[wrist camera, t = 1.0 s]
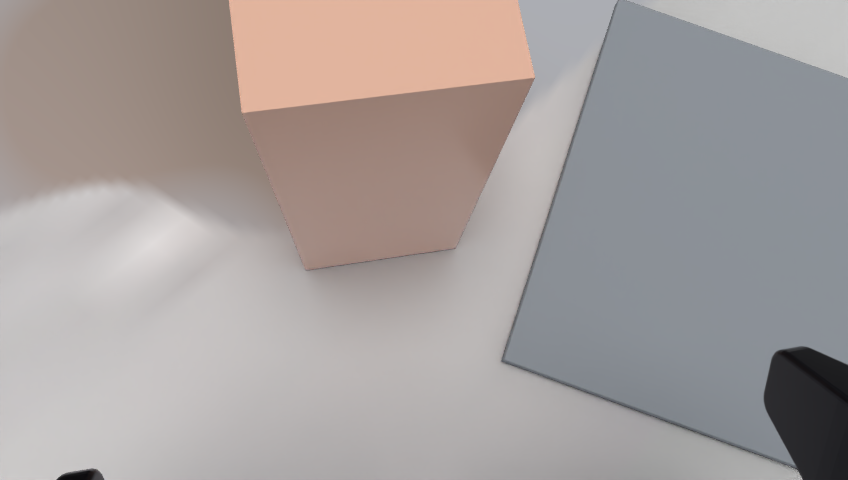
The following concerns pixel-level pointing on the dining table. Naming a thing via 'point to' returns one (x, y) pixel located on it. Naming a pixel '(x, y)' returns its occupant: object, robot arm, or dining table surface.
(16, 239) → the dining table surface
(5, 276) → the dining table surface
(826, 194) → the mat
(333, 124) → the tall salmon pink box
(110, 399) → the dining table surface
